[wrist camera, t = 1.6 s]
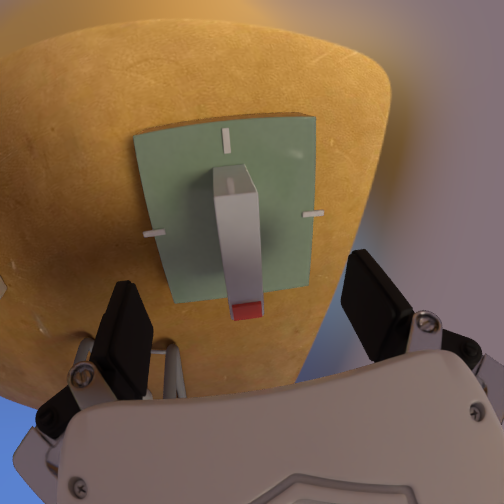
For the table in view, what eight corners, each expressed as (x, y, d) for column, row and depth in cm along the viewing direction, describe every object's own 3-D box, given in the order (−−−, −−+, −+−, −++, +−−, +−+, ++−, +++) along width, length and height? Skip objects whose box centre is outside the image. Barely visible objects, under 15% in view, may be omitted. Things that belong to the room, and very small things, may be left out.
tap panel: (136, 130, 15) (121, 138, 12) (308, 112, 16) (327, 117, 13) (170, 279, 22) (166, 306, 19) (304, 261, 23) (317, 286, 20)
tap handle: (212, 167, 14) (213, 199, 10) (245, 163, 14) (259, 194, 10) (225, 270, 18) (231, 324, 14) (252, 267, 18) (265, 319, 14)
